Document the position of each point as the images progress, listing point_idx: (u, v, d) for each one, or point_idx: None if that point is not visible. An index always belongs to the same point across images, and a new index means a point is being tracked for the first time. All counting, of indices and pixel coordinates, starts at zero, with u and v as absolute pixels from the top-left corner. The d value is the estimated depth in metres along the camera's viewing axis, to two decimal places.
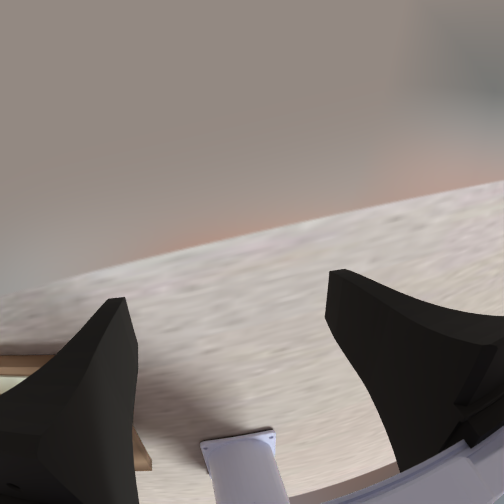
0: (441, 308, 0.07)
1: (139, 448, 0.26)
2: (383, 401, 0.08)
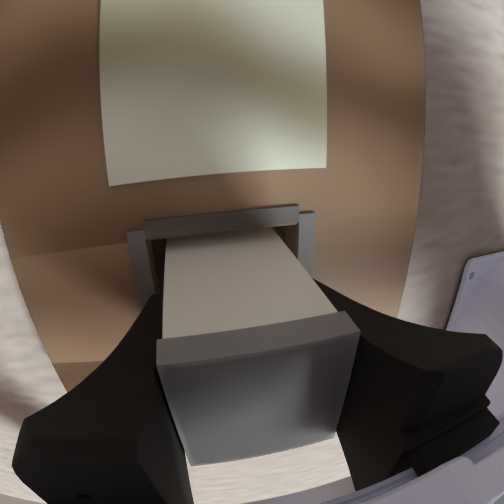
0: (398, 321, 0.07)
1: None
2: None
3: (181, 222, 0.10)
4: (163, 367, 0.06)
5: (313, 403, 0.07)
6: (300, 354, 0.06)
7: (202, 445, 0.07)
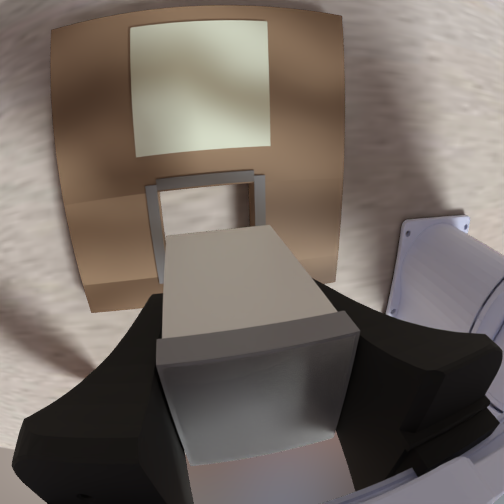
0: (397, 321, 0.07)
1: None
2: None
3: (179, 180, 0.16)
4: (163, 367, 0.06)
5: (313, 403, 0.07)
6: (300, 354, 0.06)
7: (201, 445, 0.07)
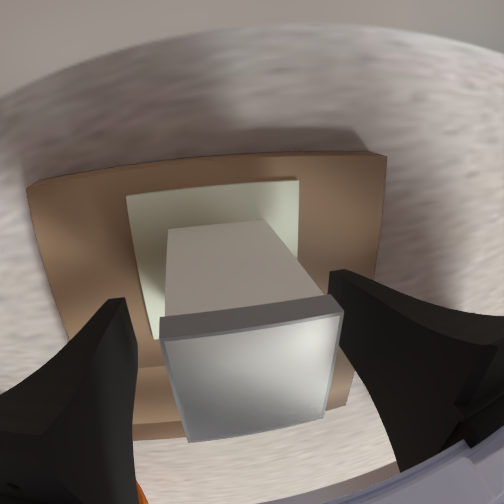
0: (441, 308, 0.07)
1: None
2: (383, 401, 0.08)
3: None
4: (165, 340, 0.07)
5: (302, 380, 0.08)
6: (289, 331, 0.07)
7: (199, 420, 0.08)
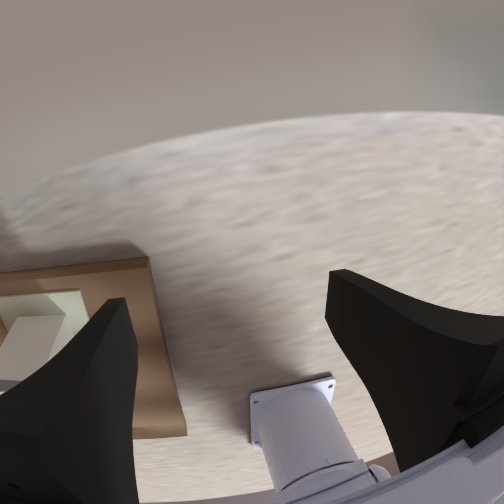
0: (441, 308, 0.07)
1: (177, 402, 0.23)
2: (383, 401, 0.08)
3: None
4: None
5: None
6: None
7: None
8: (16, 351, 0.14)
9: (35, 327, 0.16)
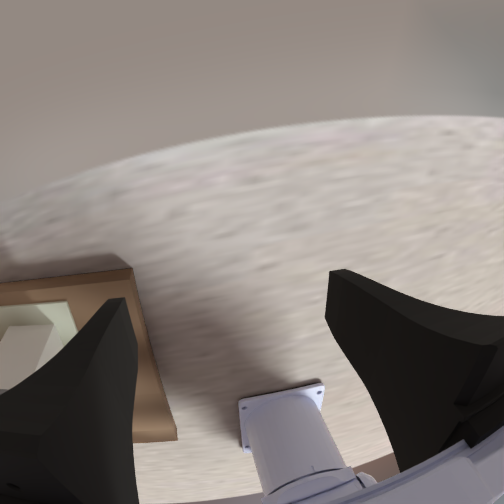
0: (441, 308, 0.07)
1: (166, 408, 0.23)
2: (383, 401, 0.08)
3: None
4: None
5: None
6: None
7: None
8: (7, 360, 0.14)
9: (25, 337, 0.16)
